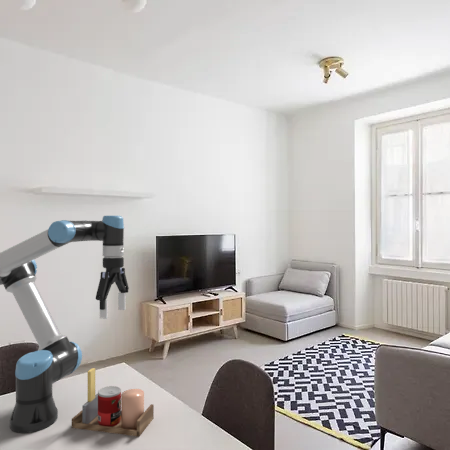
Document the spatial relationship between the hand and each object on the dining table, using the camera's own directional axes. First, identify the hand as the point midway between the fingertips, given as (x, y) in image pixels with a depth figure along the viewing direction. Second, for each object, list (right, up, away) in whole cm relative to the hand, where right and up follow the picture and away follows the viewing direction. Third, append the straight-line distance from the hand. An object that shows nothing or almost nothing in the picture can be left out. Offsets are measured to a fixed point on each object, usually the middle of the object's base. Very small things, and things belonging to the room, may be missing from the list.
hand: (113, 313), depth 140 cm
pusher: (-6, -37, -7) cm, 38 cm away
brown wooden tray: (+3, -37, -9) cm, 38 cm away
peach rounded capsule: (+10, -36, -10) cm, 39 cm away
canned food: (+1, -36, -8) cm, 37 cm away
